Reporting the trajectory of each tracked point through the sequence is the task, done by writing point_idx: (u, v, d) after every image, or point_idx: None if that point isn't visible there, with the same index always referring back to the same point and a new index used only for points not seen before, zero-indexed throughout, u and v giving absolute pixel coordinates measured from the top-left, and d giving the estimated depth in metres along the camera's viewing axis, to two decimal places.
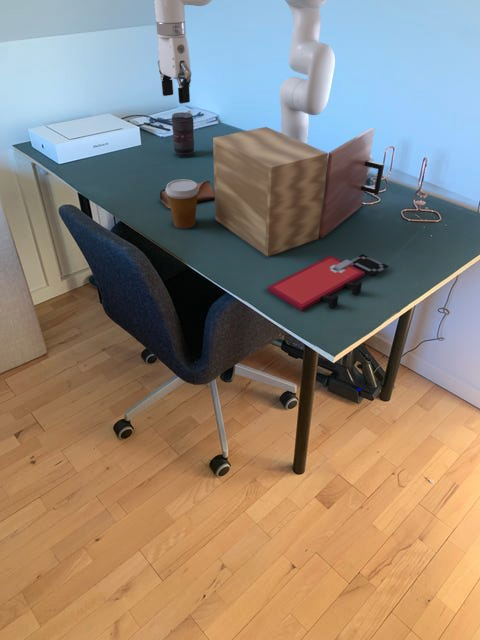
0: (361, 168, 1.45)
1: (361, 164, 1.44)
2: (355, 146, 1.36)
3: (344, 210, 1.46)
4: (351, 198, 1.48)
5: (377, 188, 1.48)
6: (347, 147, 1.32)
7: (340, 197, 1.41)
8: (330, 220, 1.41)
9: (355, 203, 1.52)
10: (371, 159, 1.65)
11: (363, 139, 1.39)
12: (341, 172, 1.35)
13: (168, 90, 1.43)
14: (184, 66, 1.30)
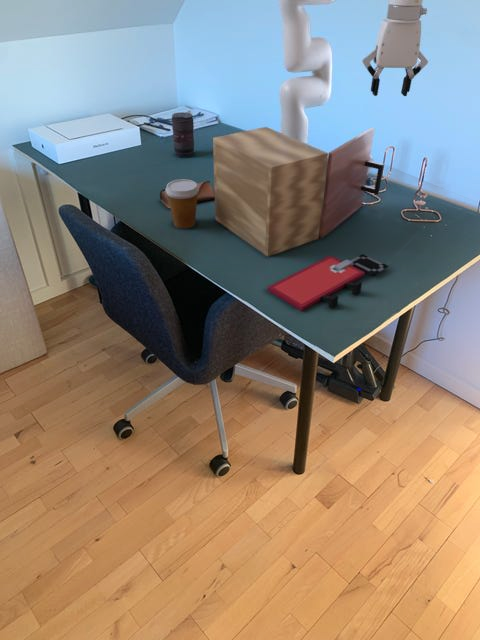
0: (361, 168, 1.45)
1: (361, 164, 1.44)
2: (355, 146, 1.36)
3: (344, 210, 1.46)
4: (351, 198, 1.48)
5: (377, 188, 1.48)
6: (347, 147, 1.32)
7: (340, 197, 1.41)
8: (330, 220, 1.41)
9: (355, 203, 1.52)
10: (371, 159, 1.65)
11: (363, 139, 1.39)
12: (341, 172, 1.35)
13: None
14: (422, 54, 1.22)
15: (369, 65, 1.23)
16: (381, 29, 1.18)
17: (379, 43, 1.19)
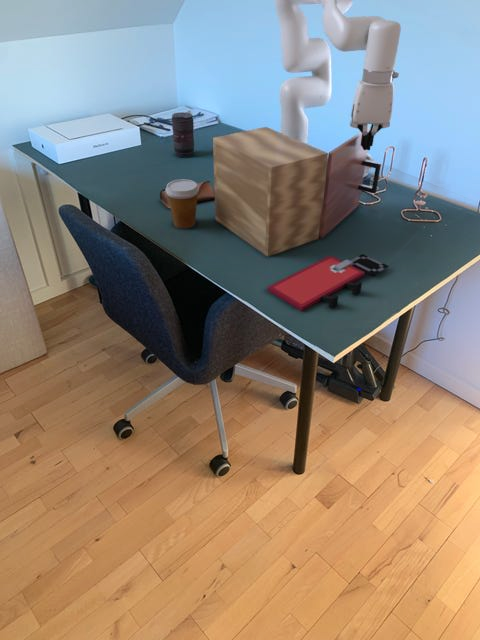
0: (358, 168, 1.46)
1: (359, 164, 1.45)
2: (353, 146, 1.36)
3: (342, 210, 1.47)
4: (349, 197, 1.48)
5: (374, 187, 1.48)
6: (346, 147, 1.32)
7: (339, 197, 1.41)
8: (330, 220, 1.41)
9: (353, 202, 1.52)
10: (371, 159, 1.65)
11: None
12: (340, 172, 1.35)
13: None
14: None
15: (357, 125, 1.34)
16: (357, 90, 1.29)
17: (355, 102, 1.30)
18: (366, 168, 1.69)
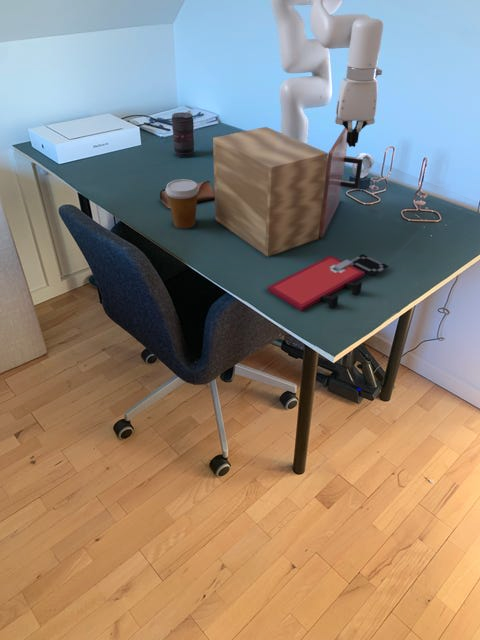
0: (342, 165, 1.48)
1: (342, 161, 1.47)
2: (341, 144, 1.38)
3: (332, 207, 1.48)
4: (336, 195, 1.49)
5: (357, 182, 1.51)
6: (338, 145, 1.33)
7: (332, 195, 1.42)
8: (326, 219, 1.41)
9: (337, 199, 1.54)
10: (371, 159, 1.65)
11: (345, 136, 1.41)
12: (334, 171, 1.35)
13: None
14: None
15: (342, 121, 1.35)
16: (341, 87, 1.30)
17: (340, 99, 1.31)
18: (366, 168, 1.69)
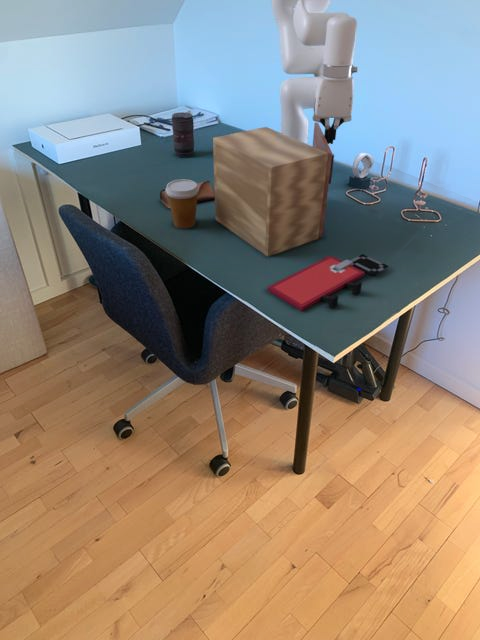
0: None
1: None
2: None
3: None
4: None
5: (330, 178, 1.54)
6: None
7: None
8: None
9: None
10: (371, 159, 1.65)
11: None
12: None
13: None
14: None
15: (319, 119, 1.37)
16: (318, 85, 1.32)
17: (316, 97, 1.33)
18: (366, 168, 1.69)
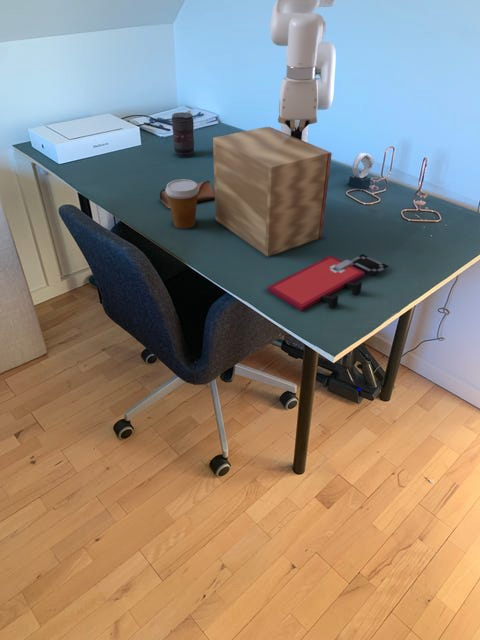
0: None
1: None
2: None
3: None
4: None
5: None
6: None
7: None
8: None
9: None
10: (371, 159, 1.65)
11: None
12: None
13: None
14: None
15: (285, 120, 1.35)
16: (282, 86, 1.30)
17: (281, 98, 1.31)
18: (366, 168, 1.69)
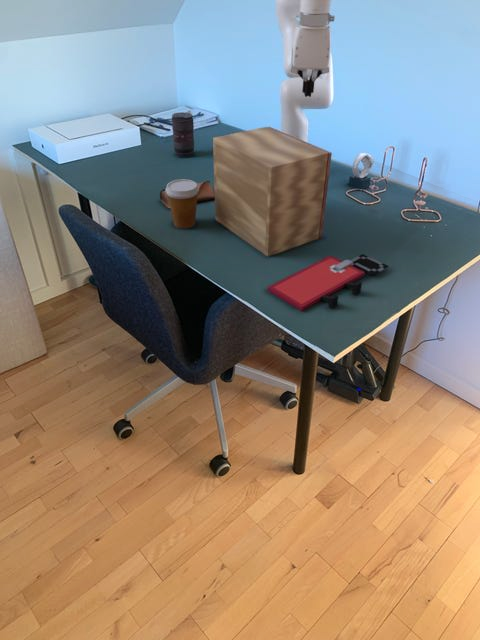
0: None
1: None
2: None
3: None
4: None
5: None
6: None
7: None
8: None
9: None
10: (371, 159, 1.65)
11: None
12: None
13: None
14: None
15: (297, 70, 1.36)
16: (295, 34, 1.31)
17: (294, 47, 1.32)
18: (366, 168, 1.69)
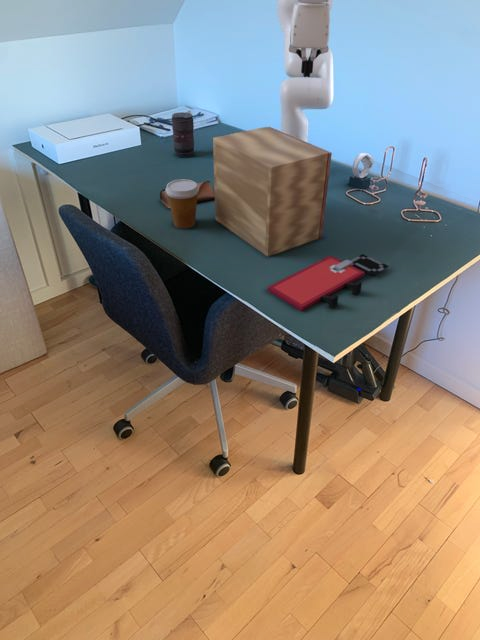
0: None
1: None
2: None
3: None
4: None
5: None
6: None
7: None
8: None
9: None
10: (371, 159, 1.65)
11: None
12: None
13: None
14: None
15: (296, 50, 1.33)
16: (293, 12, 1.28)
17: (292, 25, 1.29)
18: (366, 168, 1.69)
